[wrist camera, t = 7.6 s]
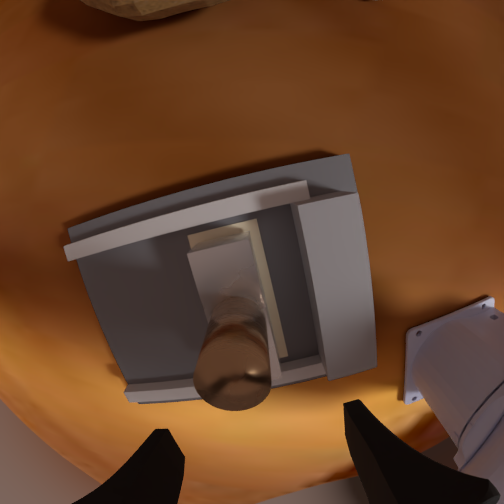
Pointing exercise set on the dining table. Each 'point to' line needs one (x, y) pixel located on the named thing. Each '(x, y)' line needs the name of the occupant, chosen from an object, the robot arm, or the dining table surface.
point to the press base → (270, 268)
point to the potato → (148, 7)
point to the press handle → (233, 325)
